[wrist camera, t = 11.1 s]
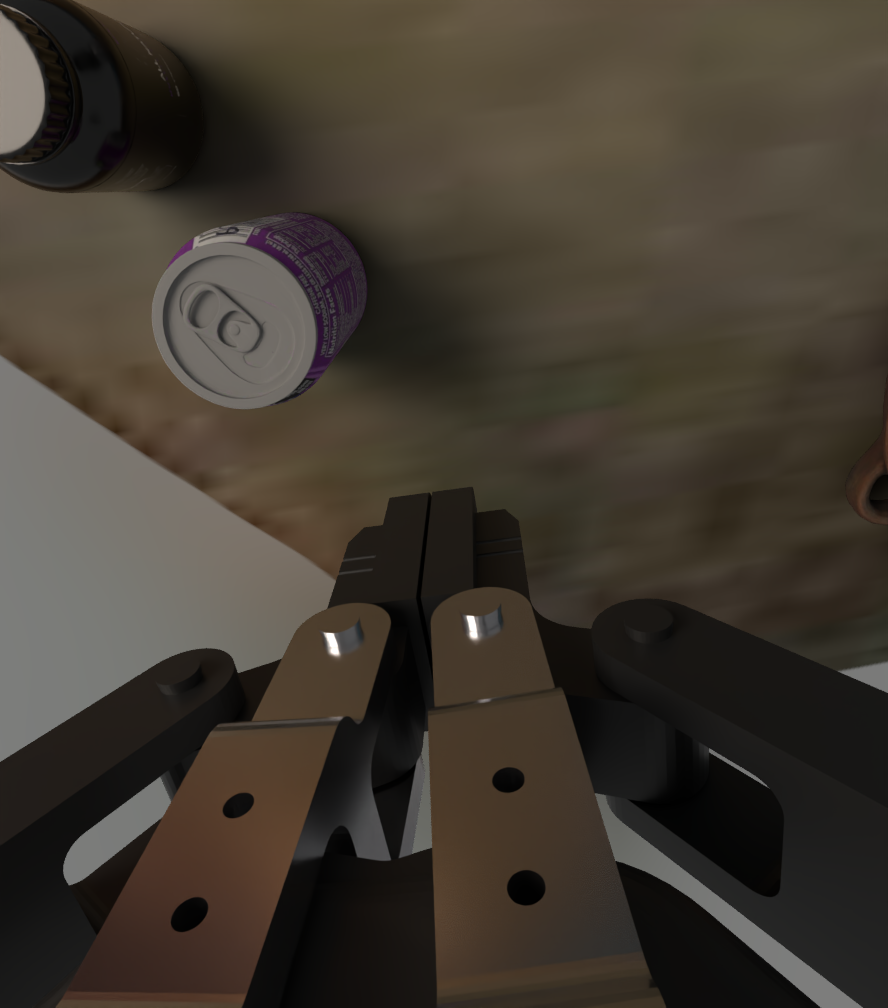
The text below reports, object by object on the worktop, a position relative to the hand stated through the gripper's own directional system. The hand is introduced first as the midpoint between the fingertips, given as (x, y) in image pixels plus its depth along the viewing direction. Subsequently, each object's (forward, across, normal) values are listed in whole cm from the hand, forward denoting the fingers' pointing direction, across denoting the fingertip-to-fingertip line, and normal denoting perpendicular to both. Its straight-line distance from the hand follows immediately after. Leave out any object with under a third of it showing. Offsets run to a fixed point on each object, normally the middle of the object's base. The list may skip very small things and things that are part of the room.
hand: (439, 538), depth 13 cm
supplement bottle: (+27, +14, -11) cm, 33 cm away
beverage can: (+27, +8, -2) cm, 28 cm away
